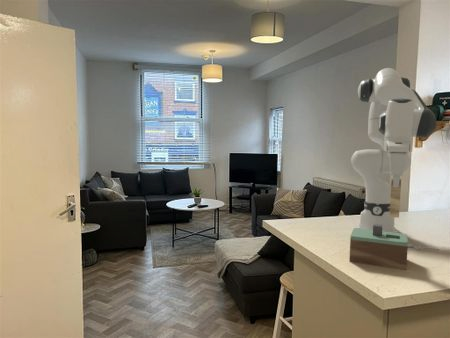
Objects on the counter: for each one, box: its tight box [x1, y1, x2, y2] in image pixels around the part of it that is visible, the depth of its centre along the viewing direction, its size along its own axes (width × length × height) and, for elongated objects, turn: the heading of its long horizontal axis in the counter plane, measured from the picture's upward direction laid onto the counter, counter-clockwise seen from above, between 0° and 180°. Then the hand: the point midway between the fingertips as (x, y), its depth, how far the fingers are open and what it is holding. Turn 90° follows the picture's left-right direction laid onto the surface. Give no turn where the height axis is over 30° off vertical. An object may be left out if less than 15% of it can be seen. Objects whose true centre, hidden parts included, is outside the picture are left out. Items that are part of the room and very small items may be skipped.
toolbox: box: [349, 239, 409, 271], centre depth 127 cm, size 12×18×9 cm, turn 65°
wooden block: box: [389, 178, 402, 218], centre depth 124 cm, size 3×3×13 cm
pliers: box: [408, 243, 440, 251], centre depth 144 cm, size 10×2×15 cm
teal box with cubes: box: [349, 224, 409, 247], centre depth 127 cm, size 12×18×6 cm, turn 65°
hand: (395, 186), depth 123 cm, fingers closed on wooden block, 3 cm apart
